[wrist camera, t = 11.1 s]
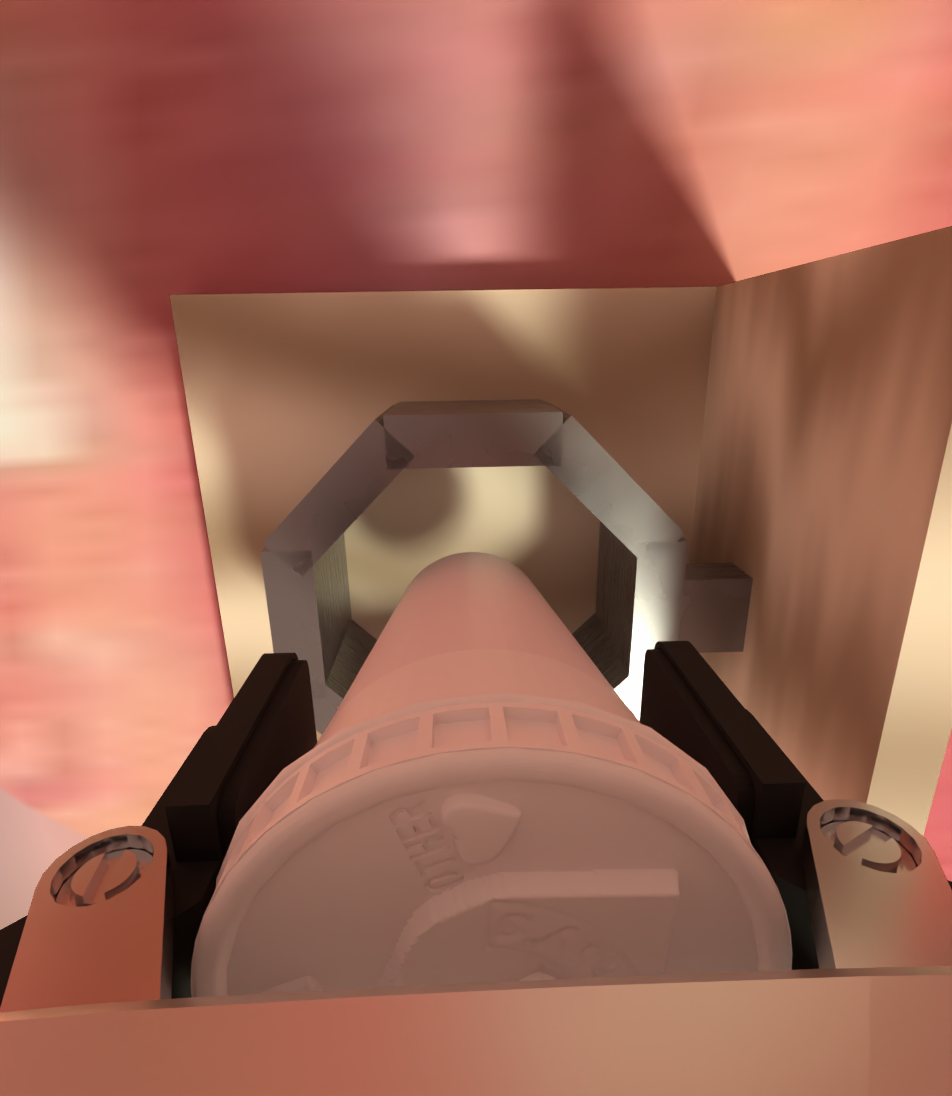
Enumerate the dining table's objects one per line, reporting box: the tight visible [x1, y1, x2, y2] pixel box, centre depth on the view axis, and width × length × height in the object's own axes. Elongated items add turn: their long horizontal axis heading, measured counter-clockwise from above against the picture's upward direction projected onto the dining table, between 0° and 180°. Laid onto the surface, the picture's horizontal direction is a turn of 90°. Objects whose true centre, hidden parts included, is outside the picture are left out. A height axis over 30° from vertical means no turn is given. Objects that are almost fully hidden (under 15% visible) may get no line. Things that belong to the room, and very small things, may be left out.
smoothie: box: [191, 552, 792, 997], centre depth 9 cm, size 6×6×14 cm
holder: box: [169, 226, 952, 836], centre depth 15 cm, size 16×16×10 cm
